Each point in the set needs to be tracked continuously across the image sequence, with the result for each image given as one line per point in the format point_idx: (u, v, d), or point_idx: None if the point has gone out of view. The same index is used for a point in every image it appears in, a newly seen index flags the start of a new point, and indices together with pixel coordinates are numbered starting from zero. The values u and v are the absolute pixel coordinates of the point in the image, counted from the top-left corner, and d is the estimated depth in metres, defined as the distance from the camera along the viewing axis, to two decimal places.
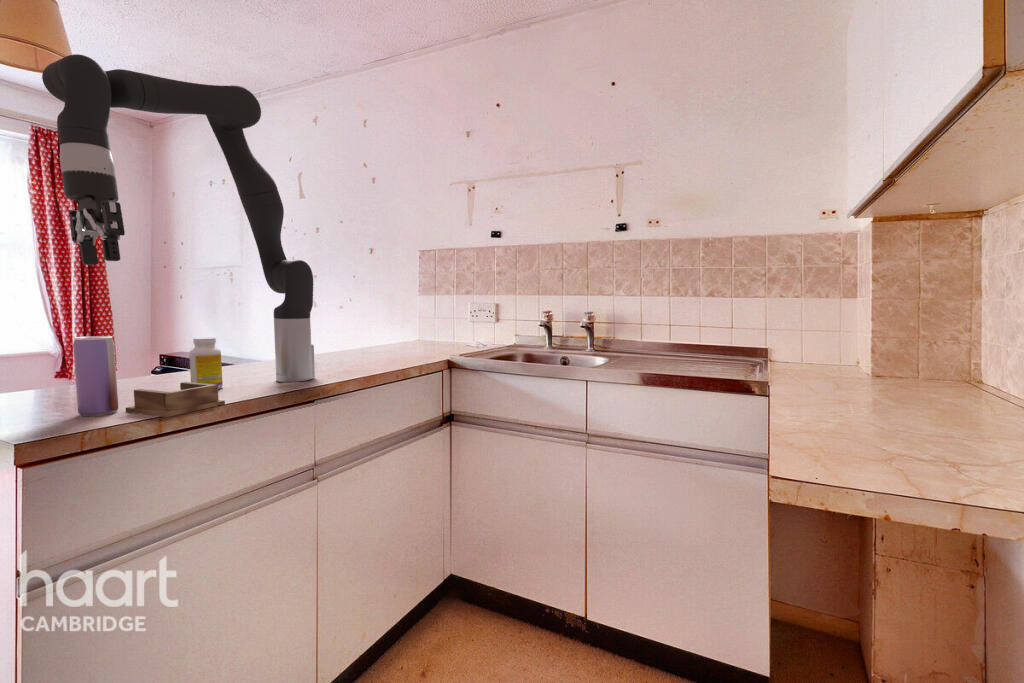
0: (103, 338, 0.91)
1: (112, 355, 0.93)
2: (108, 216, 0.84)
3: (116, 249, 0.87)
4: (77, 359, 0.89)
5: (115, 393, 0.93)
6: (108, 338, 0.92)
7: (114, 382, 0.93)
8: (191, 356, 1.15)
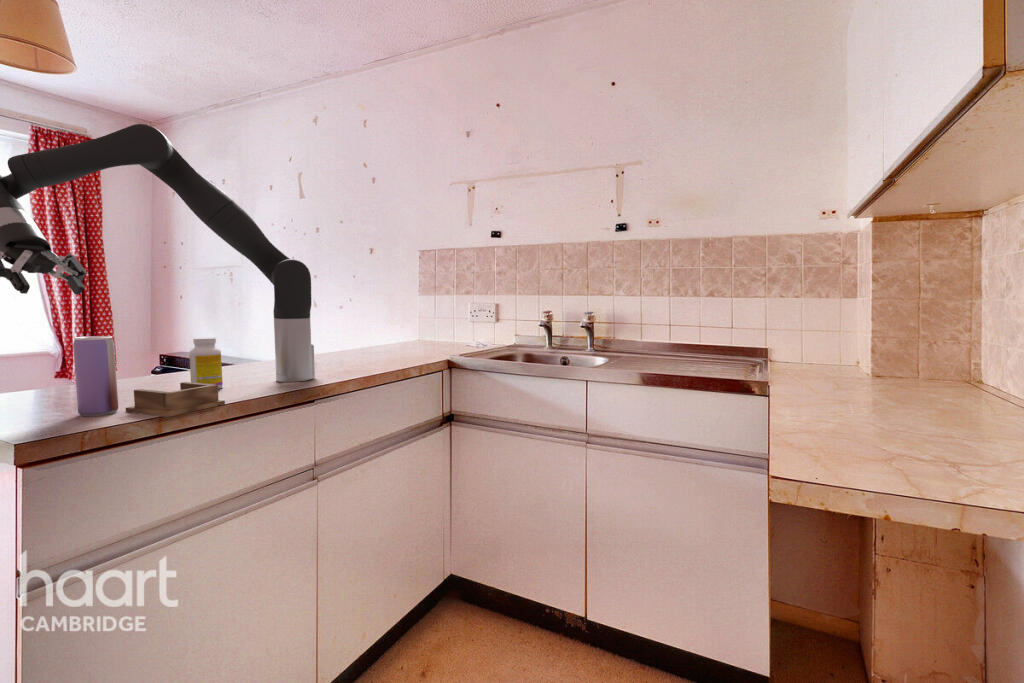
0: (103, 338, 0.91)
1: (112, 355, 0.93)
2: None
3: (14, 281, 0.90)
4: (77, 359, 0.89)
5: (115, 393, 0.93)
6: (108, 338, 0.92)
7: (114, 382, 0.93)
8: (191, 356, 1.15)
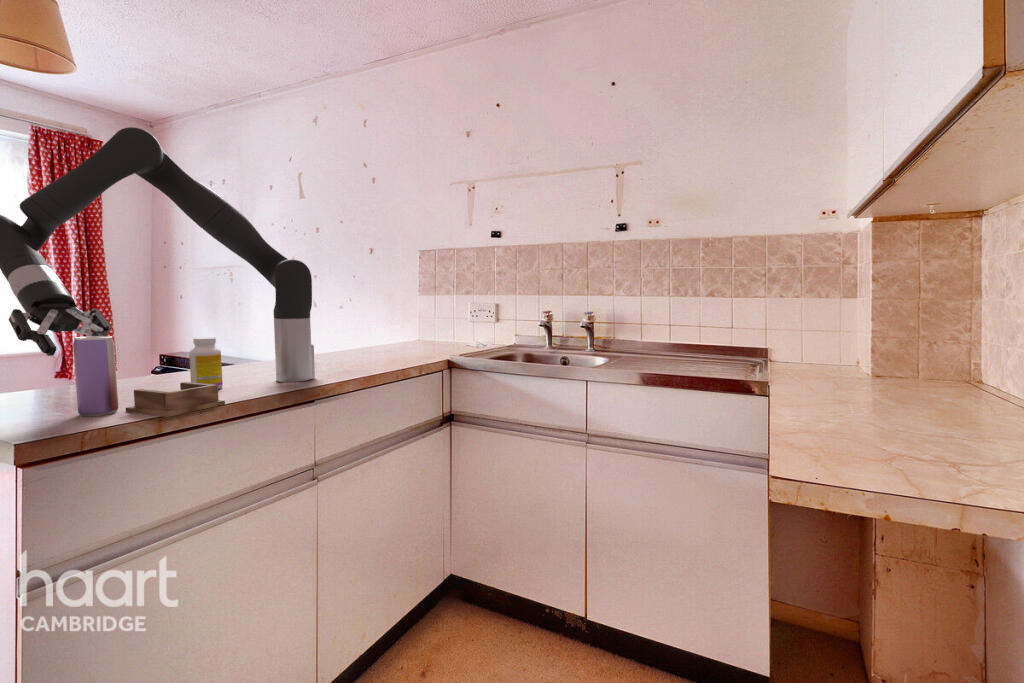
0: (103, 338, 0.91)
1: (112, 355, 0.93)
2: (13, 327, 0.89)
3: (41, 344, 0.89)
4: (77, 359, 0.89)
5: (115, 393, 0.93)
6: (108, 338, 0.92)
7: (114, 382, 0.93)
8: (191, 356, 1.15)
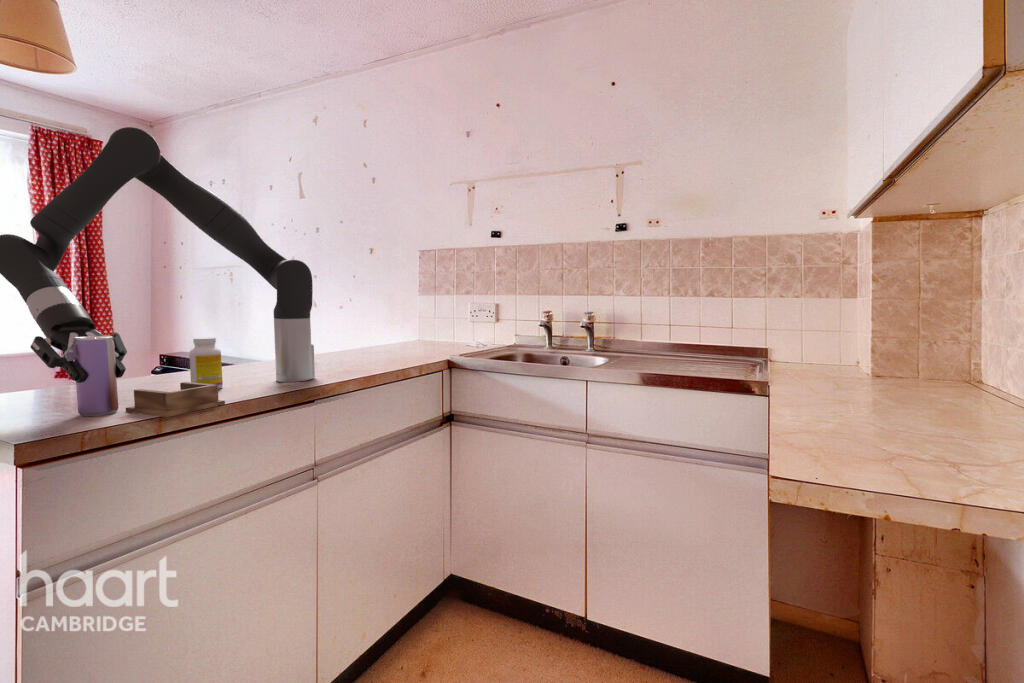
0: (103, 338, 0.91)
1: (112, 355, 0.93)
2: (39, 355, 0.87)
3: (70, 371, 0.88)
4: (77, 359, 0.89)
5: (115, 393, 0.93)
6: (108, 338, 0.92)
7: (114, 382, 0.93)
8: (191, 356, 1.15)
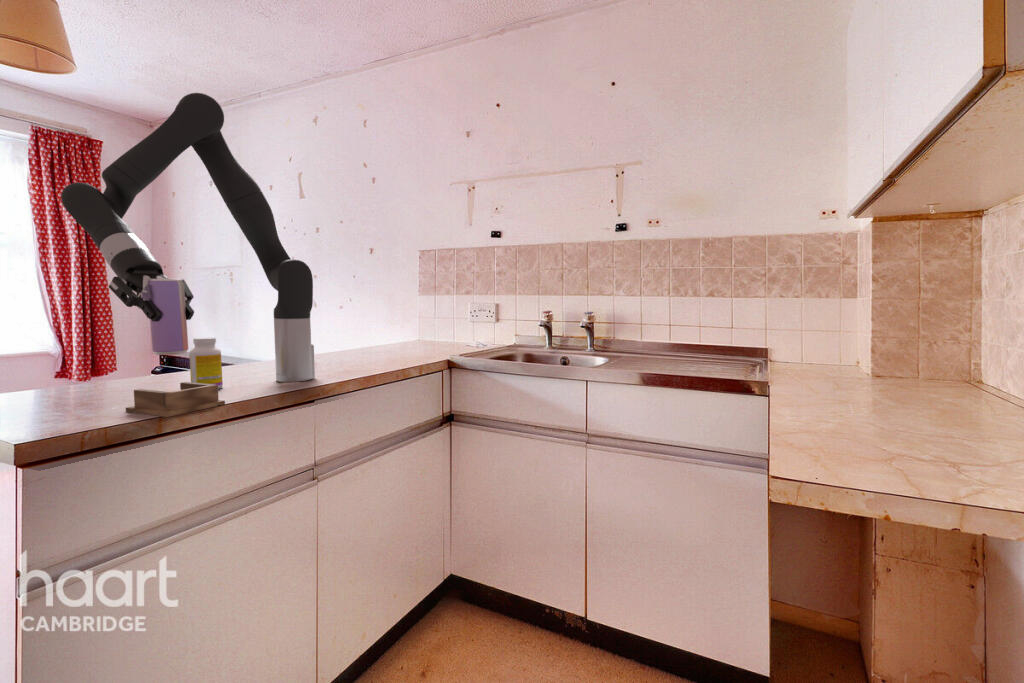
0: (175, 280, 0.95)
1: (183, 297, 0.97)
2: (117, 295, 0.92)
3: (147, 310, 0.92)
4: (152, 299, 0.93)
5: (186, 334, 0.98)
6: (179, 280, 0.96)
7: (185, 323, 0.97)
8: (191, 356, 1.15)
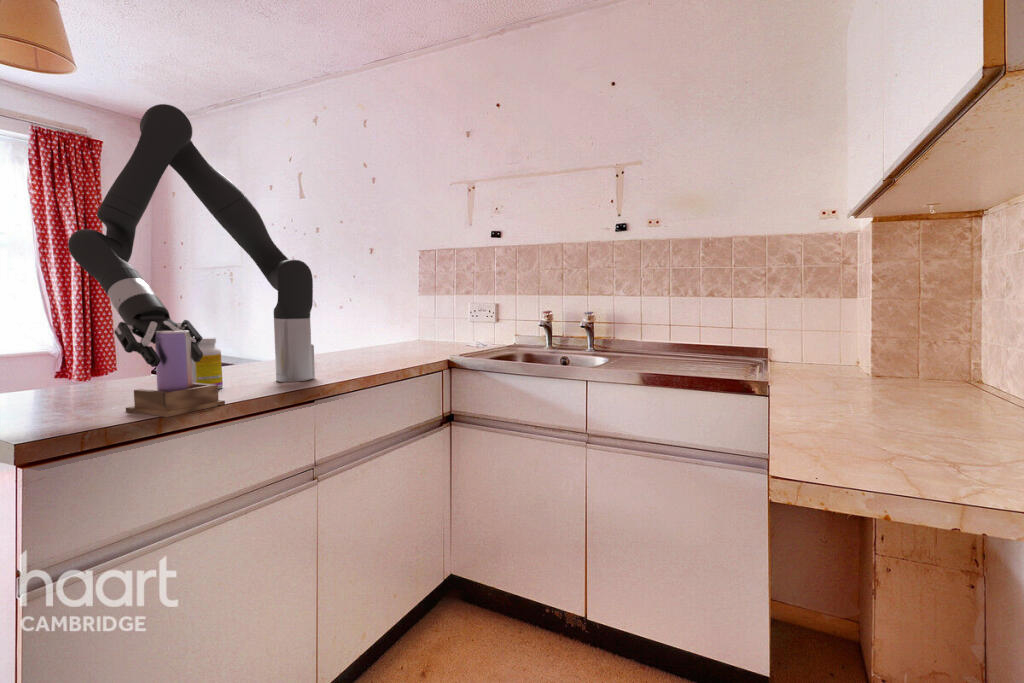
0: (182, 332, 0.96)
1: (189, 348, 0.98)
2: (120, 340, 0.92)
3: (147, 355, 0.92)
4: (159, 351, 0.94)
5: (191, 384, 0.99)
6: (186, 332, 0.97)
7: (191, 374, 0.98)
8: None
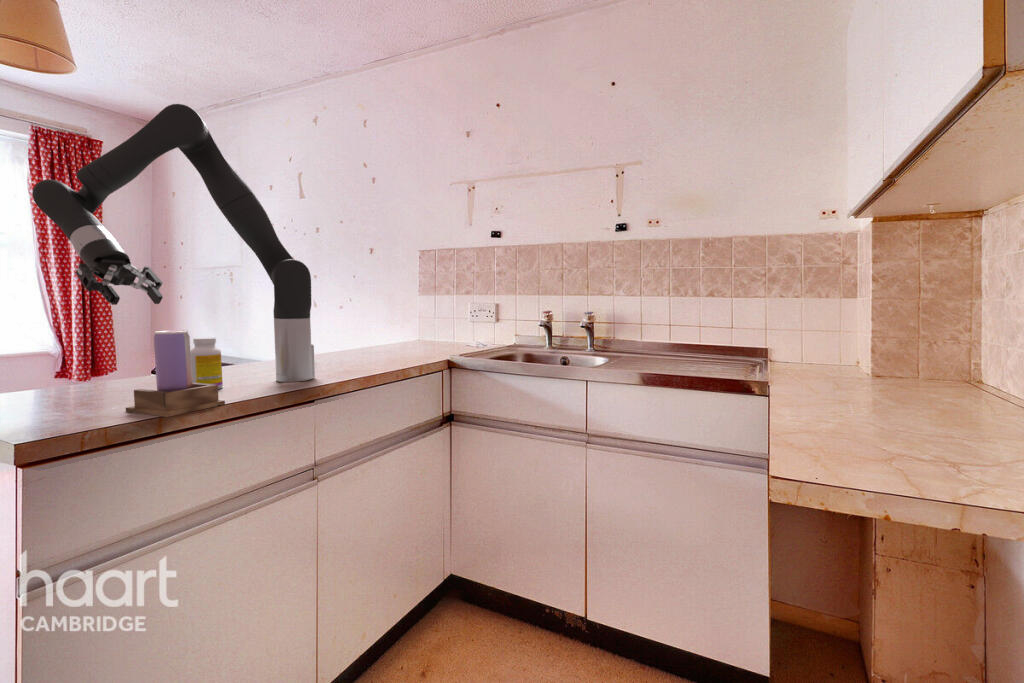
0: (181, 332, 0.96)
1: (188, 348, 0.98)
2: (81, 279, 0.98)
3: (106, 294, 0.99)
4: (158, 352, 0.94)
5: (191, 384, 0.98)
6: (185, 332, 0.97)
7: (190, 374, 0.98)
8: (191, 356, 1.15)
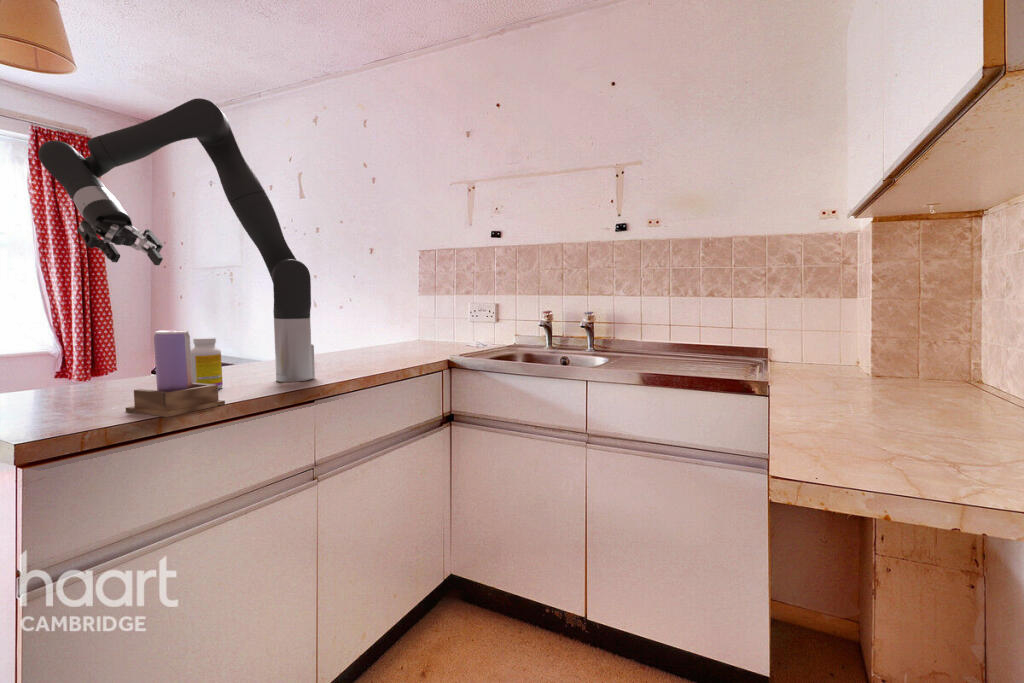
0: (182, 332, 0.96)
1: (189, 348, 0.98)
2: (82, 236, 1.00)
3: (107, 251, 1.00)
4: (158, 352, 0.94)
5: (191, 384, 0.98)
6: (185, 332, 0.97)
7: (190, 374, 0.98)
8: (191, 356, 1.15)
